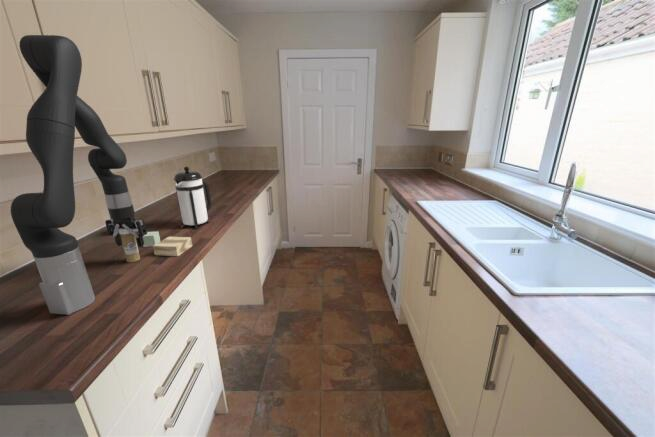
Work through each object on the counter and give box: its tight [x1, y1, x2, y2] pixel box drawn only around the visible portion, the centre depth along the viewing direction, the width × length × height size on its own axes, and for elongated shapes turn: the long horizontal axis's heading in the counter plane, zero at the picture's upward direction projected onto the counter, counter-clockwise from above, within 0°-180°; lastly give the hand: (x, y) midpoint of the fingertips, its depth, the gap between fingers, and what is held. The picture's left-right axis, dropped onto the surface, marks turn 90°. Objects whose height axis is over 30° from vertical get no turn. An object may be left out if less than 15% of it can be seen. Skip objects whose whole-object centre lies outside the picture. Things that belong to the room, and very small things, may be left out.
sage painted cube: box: [142, 231, 161, 248], centre depth 124 cm, size 5×5×5 cm
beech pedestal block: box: [152, 236, 193, 257], centre depth 118 cm, size 10×10×4 cm
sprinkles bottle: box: [118, 228, 141, 263], centre depth 108 cm, size 5×5×14 cm
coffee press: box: [173, 166, 212, 230], centre depth 145 cm, size 17×16×30 cm
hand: (130, 245), depth 109 cm, fingers open, 8 cm apart
